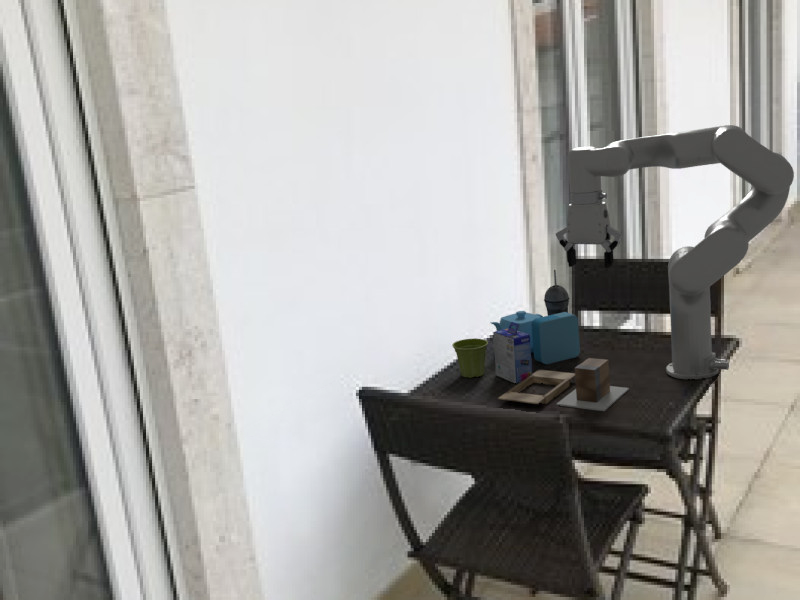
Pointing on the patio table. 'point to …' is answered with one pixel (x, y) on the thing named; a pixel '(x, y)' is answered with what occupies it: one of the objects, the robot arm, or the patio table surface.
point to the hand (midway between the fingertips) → (590, 266)
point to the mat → (600, 405)
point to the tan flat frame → (539, 377)
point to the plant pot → (471, 356)
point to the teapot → (521, 319)
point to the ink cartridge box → (512, 354)
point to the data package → (555, 337)
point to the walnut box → (592, 380)
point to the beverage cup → (556, 299)
